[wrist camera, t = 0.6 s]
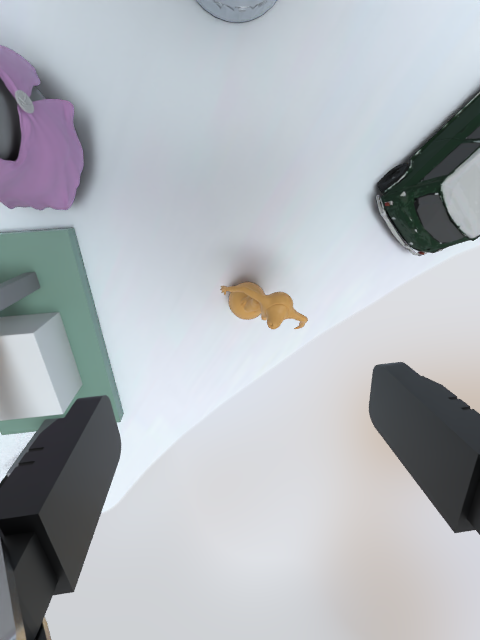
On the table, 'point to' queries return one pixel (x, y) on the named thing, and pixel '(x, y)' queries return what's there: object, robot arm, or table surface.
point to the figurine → (262, 305)
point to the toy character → (35, 141)
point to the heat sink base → (52, 290)
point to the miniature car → (437, 188)
